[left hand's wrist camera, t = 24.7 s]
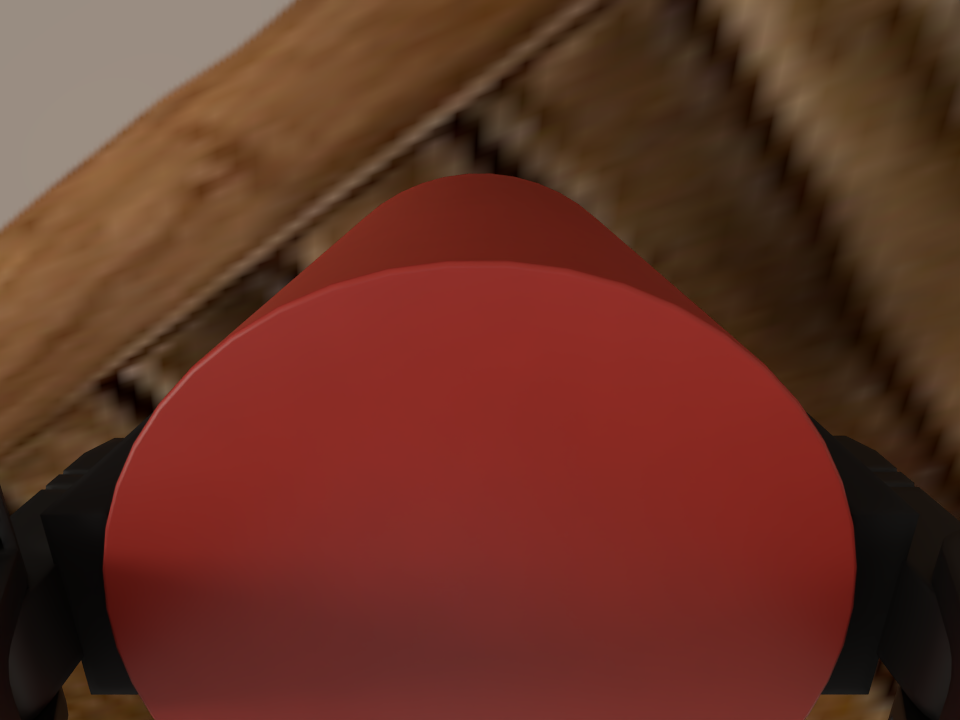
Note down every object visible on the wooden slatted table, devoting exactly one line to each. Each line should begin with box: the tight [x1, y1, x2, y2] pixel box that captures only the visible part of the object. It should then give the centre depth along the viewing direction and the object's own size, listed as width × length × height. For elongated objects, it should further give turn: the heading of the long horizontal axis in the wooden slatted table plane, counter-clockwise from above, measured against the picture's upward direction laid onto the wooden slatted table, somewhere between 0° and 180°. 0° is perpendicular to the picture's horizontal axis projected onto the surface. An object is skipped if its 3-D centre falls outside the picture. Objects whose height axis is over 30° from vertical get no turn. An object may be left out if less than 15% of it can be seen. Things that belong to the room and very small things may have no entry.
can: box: [103, 174, 857, 720], centre depth 12 cm, size 8×8×10 cm
